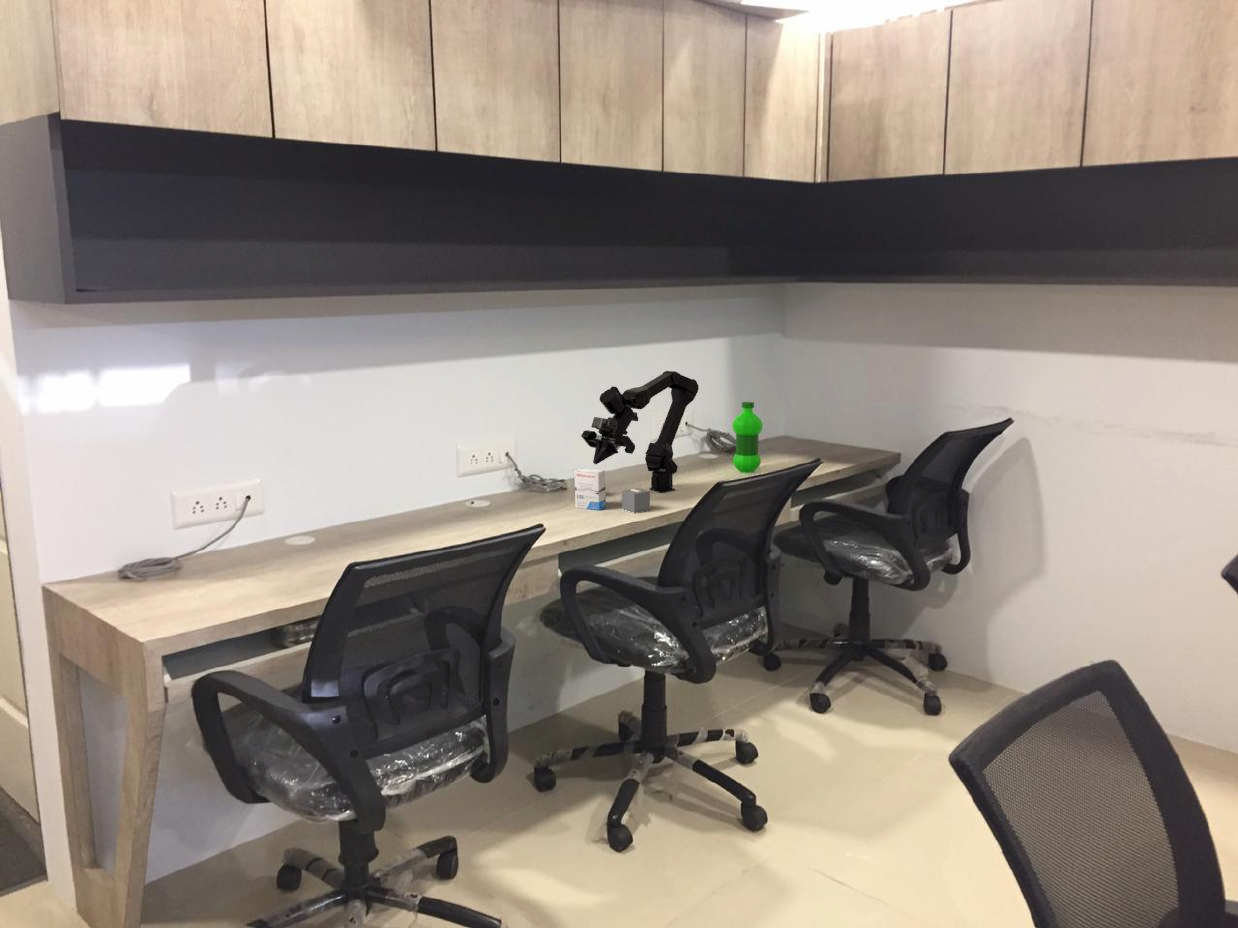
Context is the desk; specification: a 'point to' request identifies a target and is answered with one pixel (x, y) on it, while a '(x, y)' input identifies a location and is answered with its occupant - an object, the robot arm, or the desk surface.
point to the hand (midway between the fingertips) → (594, 463)
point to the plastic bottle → (747, 439)
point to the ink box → (590, 489)
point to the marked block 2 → (636, 500)
